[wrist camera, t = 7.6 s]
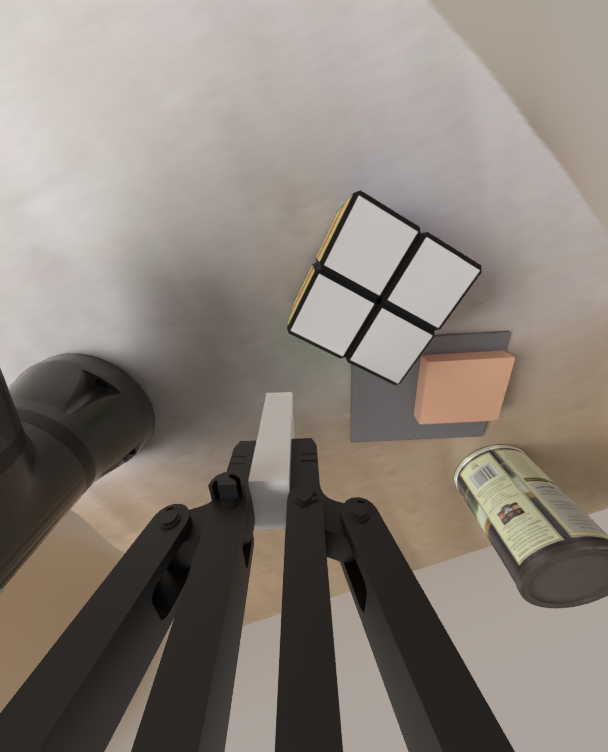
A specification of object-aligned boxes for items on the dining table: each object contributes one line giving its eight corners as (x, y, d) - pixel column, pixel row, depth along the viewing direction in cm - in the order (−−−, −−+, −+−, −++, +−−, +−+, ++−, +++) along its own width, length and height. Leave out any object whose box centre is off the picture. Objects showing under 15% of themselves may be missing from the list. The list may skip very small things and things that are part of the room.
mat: (351, 440, 38) (351, 442, 37) (351, 340, 31) (352, 341, 31) (481, 434, 37) (482, 436, 37) (508, 331, 31) (510, 332, 30)
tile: (419, 424, 33) (497, 420, 33) (428, 362, 30) (515, 357, 29) (413, 414, 35) (486, 410, 35) (420, 354, 32) (502, 349, 31)
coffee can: (507, 501, 43) (591, 614, 30) (442, 492, 42) (501, 603, 29) (544, 449, 38) (663, 555, 25) (473, 438, 37) (558, 541, 25)
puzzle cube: (428, 261, 28) (487, 267, 18) (372, 348, 31) (399, 389, 22) (339, 207, 26) (356, 186, 17) (291, 306, 30) (284, 333, 20)
